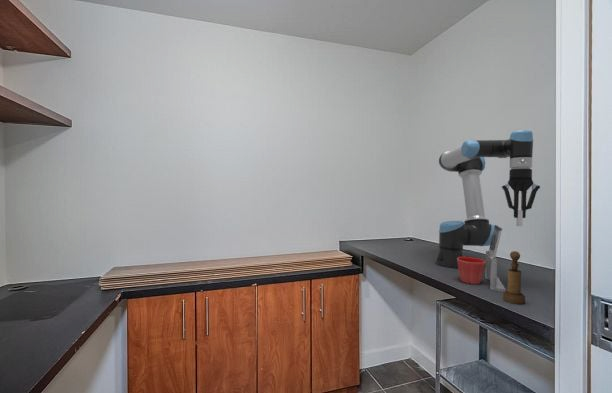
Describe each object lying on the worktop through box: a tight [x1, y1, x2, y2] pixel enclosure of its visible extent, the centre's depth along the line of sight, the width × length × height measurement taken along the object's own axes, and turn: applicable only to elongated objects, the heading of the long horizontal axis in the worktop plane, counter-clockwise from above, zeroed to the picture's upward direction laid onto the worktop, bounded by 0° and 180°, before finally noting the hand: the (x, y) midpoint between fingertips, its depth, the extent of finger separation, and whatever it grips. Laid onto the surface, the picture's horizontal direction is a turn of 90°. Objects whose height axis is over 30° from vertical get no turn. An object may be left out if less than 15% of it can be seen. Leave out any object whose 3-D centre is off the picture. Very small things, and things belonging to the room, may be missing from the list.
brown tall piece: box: [502, 250, 526, 305], centre depth 107 cm, size 7×6×18 cm
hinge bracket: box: [484, 250, 507, 293], centre depth 126 cm, size 19×5×12 cm, turn 155°
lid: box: [487, 224, 503, 259], centre depth 126 cm, size 13×14×2 cm
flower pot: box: [457, 256, 486, 285], centre depth 130 cm, size 11×11×10 cm
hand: (519, 225), depth 122 cm, fingers closed
